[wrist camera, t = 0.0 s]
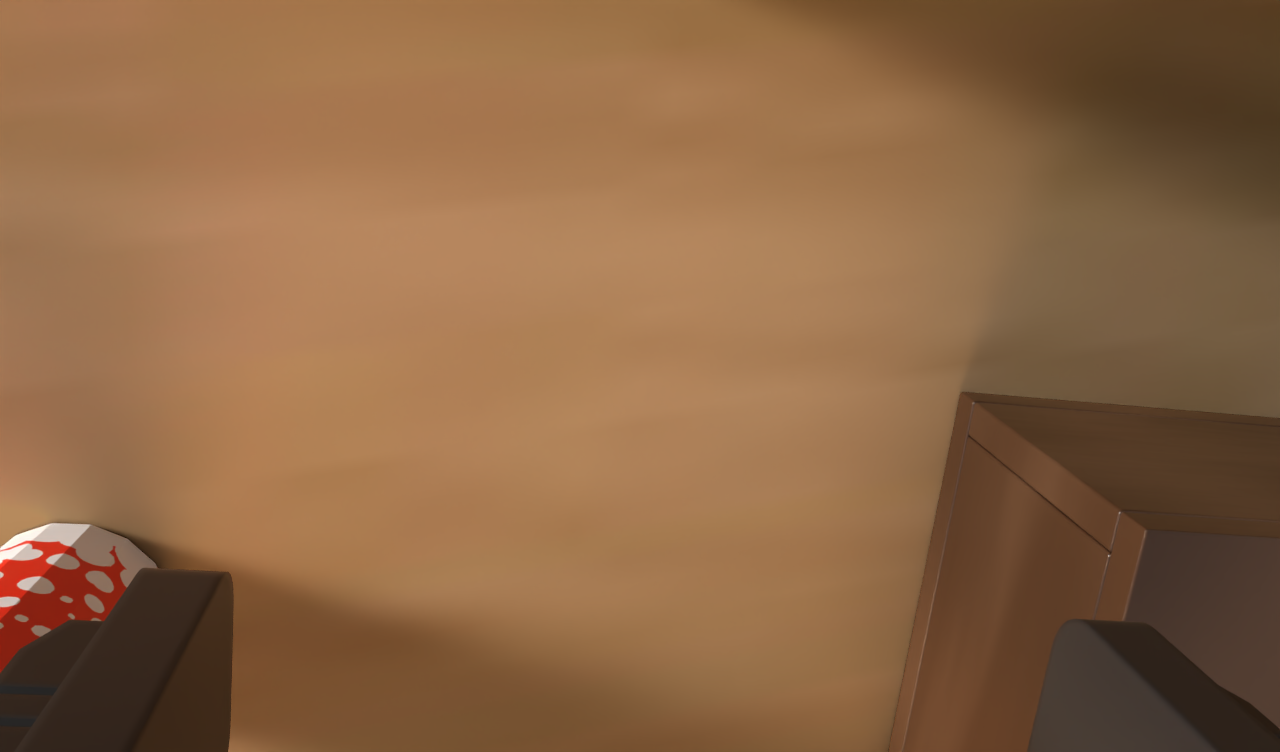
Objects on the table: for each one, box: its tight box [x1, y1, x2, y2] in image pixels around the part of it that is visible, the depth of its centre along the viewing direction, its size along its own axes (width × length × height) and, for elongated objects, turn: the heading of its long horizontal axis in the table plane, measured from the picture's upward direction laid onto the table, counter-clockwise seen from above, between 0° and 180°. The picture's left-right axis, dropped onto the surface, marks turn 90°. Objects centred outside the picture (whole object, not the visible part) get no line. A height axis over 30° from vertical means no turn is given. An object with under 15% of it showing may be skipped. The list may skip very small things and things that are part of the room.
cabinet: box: [888, 392, 1280, 752], centre depth 28 cm, size 15×13×9 cm
